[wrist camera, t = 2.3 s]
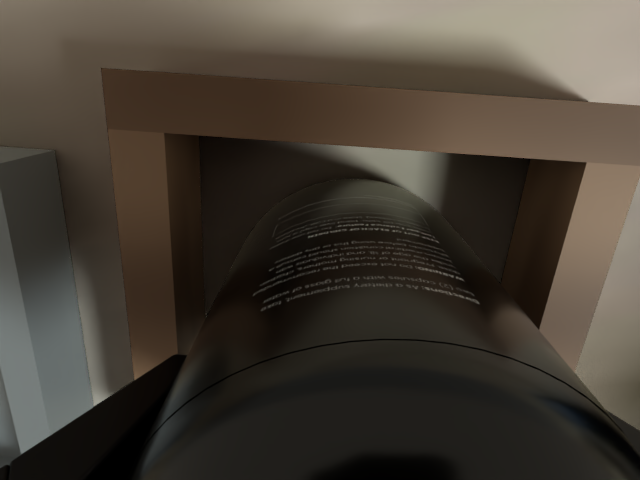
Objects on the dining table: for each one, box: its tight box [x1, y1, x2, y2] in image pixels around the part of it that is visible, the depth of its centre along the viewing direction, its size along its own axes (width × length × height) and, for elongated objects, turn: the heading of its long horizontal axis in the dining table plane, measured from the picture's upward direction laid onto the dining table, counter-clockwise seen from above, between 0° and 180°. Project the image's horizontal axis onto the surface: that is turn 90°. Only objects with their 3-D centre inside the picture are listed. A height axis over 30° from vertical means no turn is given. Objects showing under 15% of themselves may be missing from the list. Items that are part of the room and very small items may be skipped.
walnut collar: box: [101, 68, 640, 380], centre depth 12 cm, size 11×11×2 cm
